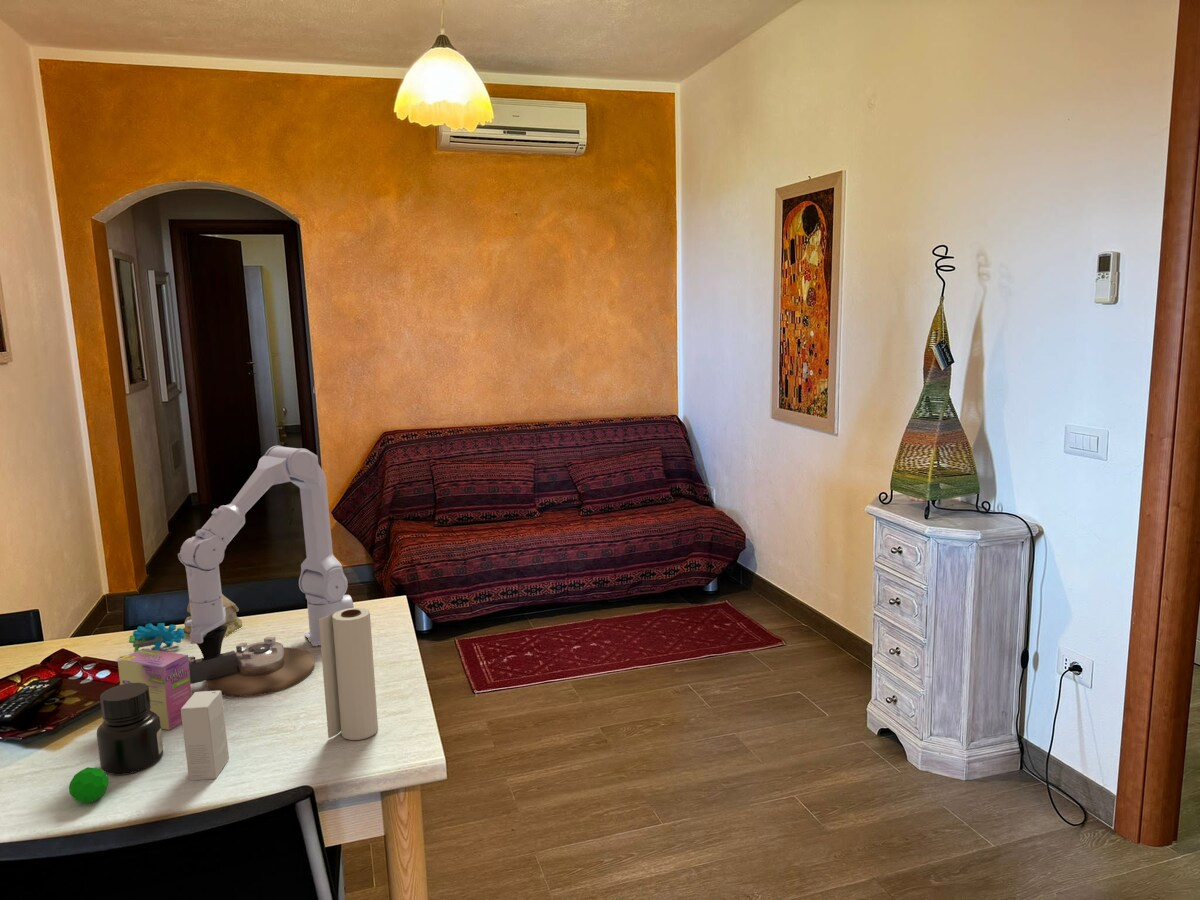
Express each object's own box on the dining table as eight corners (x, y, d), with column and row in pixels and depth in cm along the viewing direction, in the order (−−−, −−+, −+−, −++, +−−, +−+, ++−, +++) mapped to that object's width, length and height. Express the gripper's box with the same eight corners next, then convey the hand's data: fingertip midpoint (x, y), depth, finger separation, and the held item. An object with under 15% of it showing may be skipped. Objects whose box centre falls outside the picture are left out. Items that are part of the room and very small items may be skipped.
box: (195, 716, 152) (188, 653, 150) (169, 731, 147) (162, 666, 145) (150, 708, 155) (143, 647, 153) (123, 722, 150) (116, 659, 148)
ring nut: (278, 653, 175) (276, 630, 174) (290, 667, 168) (288, 644, 167) (182, 676, 165) (180, 652, 164) (191, 692, 158) (188, 667, 157)
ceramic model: (254, 626, 196) (250, 584, 195) (212, 643, 186) (207, 599, 185) (213, 617, 203) (209, 577, 201) (170, 633, 193) (165, 591, 191)
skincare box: (202, 761, 136) (194, 691, 134) (229, 759, 137) (222, 689, 135) (187, 781, 130) (179, 708, 128) (216, 779, 131) (208, 706, 129)
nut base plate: (301, 646, 183) (301, 639, 183) (325, 679, 166) (324, 671, 166) (200, 668, 172) (199, 661, 172) (214, 706, 156) (213, 697, 155)
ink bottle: (177, 754, 139) (170, 685, 137) (128, 781, 131) (119, 708, 129) (137, 743, 143) (129, 675, 141) (86, 769, 135) (77, 698, 133)
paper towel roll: (384, 725, 147) (376, 607, 143) (367, 742, 141) (359, 619, 137) (346, 722, 148) (337, 605, 145) (328, 739, 142) (318, 617, 139)
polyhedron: (85, 812, 123) (81, 782, 122) (63, 805, 125) (59, 775, 124) (117, 794, 127) (114, 765, 126) (96, 787, 129) (92, 758, 128)
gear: (194, 635, 187) (171, 616, 178) (190, 660, 183) (167, 642, 175) (144, 644, 186) (119, 625, 178) (139, 669, 183) (114, 652, 175)
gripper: (197, 587, 170) (204, 651, 173) (169, 612, 156) (177, 682, 158) (233, 585, 171) (240, 649, 173) (209, 610, 157) (217, 679, 159)
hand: (212, 664), depth 166 cm, fingers closed
